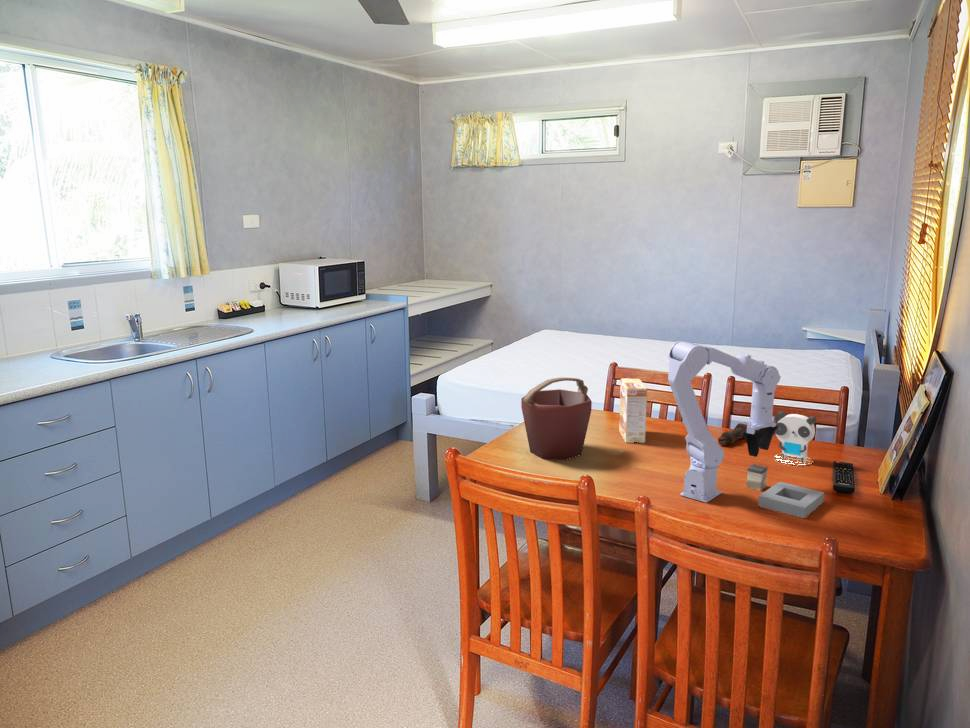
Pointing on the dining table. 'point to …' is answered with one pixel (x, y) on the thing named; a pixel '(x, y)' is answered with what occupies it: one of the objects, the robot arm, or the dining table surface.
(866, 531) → the dining table surface
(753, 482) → the peg
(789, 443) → the panda figurine
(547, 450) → the bucket
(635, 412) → the coffeecake box
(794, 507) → the socket board
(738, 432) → the dark brown cylinder
